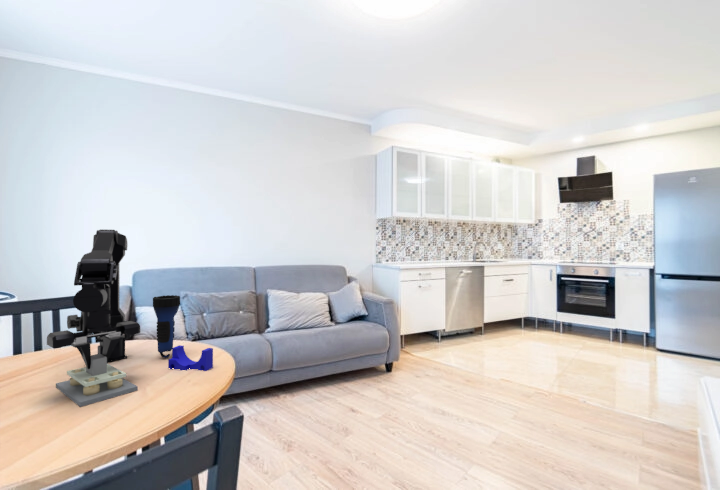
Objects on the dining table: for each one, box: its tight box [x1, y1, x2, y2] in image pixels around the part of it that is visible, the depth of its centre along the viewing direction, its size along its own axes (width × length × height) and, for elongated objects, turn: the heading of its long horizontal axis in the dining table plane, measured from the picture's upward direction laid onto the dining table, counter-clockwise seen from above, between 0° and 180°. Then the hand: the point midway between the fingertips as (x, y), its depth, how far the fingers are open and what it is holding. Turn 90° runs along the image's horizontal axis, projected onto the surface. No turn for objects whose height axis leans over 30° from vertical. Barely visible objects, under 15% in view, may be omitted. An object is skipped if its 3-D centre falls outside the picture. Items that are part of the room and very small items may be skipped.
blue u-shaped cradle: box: [167, 345, 214, 372], centre depth 109 cm, size 12×4×6 cm, turn 75°
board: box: [66, 353, 127, 387], centre depth 93 cm, size 9×14×5 cm, turn 53°
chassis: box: [55, 368, 139, 408], centre depth 93 cm, size 12×19×4 cm, turn 53°
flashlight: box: [152, 294, 181, 359], centre depth 119 cm, size 8×8×20 cm
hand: (96, 366), depth 93 cm, fingers closed on board, 3 cm apart
